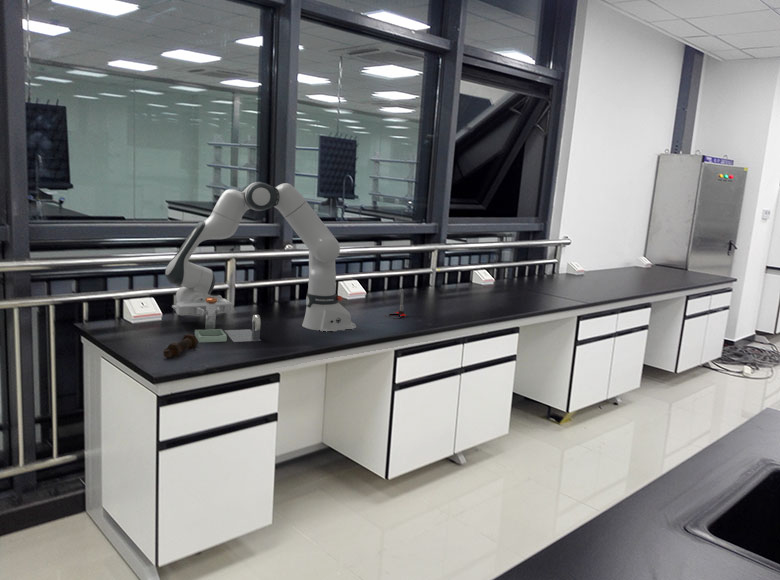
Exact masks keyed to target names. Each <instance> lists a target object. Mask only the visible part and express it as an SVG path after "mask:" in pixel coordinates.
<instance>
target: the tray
mask: <svg viewBox="0 0 780 580" xmlns="http://www.w3.org/2000/svg"><path fill="white" fill-rule="evenodd" d="M194 335H195V336H196V338H197V340H198V344H199V343H217V342H218V343H219V342H227V341H228V340H227V339H228V338H227V337H228V334H227V333H226V332H225V331H224V330H223V329H222V328H215V329H194Z"/></svg>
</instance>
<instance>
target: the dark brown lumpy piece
mask: <svg viewBox="0 0 780 580" xmlns="http://www.w3.org/2000/svg"><path fill="white" fill-rule="evenodd" d="M198 344H199V341H198V340H197V338H196V336H195V334H192V333H186V334H184V335H183V337H182V339H181V340H180V341H179V342H171V343H169V344H168V345H167V347H166V348H165V349H164V350H163V352H162V355H163V356H164V357H165V358H166V359H170V358H172V357H174V356H175V358H177V357H179V356H180V355H181V354H182V352H184V351H185V350H188V349H189V350H194V348H195V349H196V347H197V346H198Z"/></svg>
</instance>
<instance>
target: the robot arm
mask: <svg viewBox="0 0 780 580" xmlns="http://www.w3.org/2000/svg"><path fill="white" fill-rule="evenodd" d="M213 207H214V208H213V209H212V212H211V213H210V215H209V216H208V218H206V219H205V220H203V221H199V222H198V223H197V224H196V225H195V226H194V227H193V228H192V230H191V231H190V233H189V234H188V236H187V237H186V239H185V241H184V242H183V243H182V245H181V246H180V248H179V249H178V251H176V254H175V255H174V257H172V259H171V260H170V261H169V263H168V264H167V266H166V267H165V270H164V271H165V272H164V275H165V277H166V278H165V279H166V280H167V282H169V284H171V285H174V286H175V285H176V286H181V287H180V288H179V289H177V291H176V293H175V299H176V303H175V304H172V305H171V308H173V309H174V310H175V313H176V314H177V315H178V316H193V317H203V316H206V315H207V310H206V298H207V297H214V298H217V302H216V315H220V314H231V313H232V312H233V303H232V302H231V301H230V300H228V299H227V298H223V297H222V295H220V294H212V292H213V290H214V288H215V285H216V277H215V273H214V271H213V270H212V269H211V268H208V267H205V266H202V265H199V264H195V263H193V262H190V261H189V260H190V258H191V256H192V255H193V254H194V252H195V250H196V249H197V247H198V246H199V244H201V243H202V242H204V241H207V240H224V239H228V238H231V237H233V235H235V233H236V232H237V229H239V225H240V223H241V221H242V219H243V216H244V214H245V213H246V212H247V211H249V210H253V211H257V212H260V211H261V212H262V211H266V210H269V209H271V208H275V209H277V211H279V213H280V215H282V217H283V218H284V219H285V221H286V222H287V223H288V224H289V225H290V228H292V229H293V231H294V232H295V234H297V236H298V237H299V238H300V240H301V241H302V243H304V245H305V247H307V248H308V283H307V284H308V285H307V286H308V288H307V292H306V297H305V298H306V299H305V306H306V308H305V315H304V317H303V318H304V319H303V321H302V324H301V326H302V327H303V328H305V329H307V330H312V331H319V330H320V332H323V331H326V332H325V333H328V332H327V331H333V332H338V331H337V330H342V331H346V330H345V329H352V330H354V329H353V328H356V329H357V325H356V324H355V323H354V322H352V317H351V313H350V312H349V311H348V310H347V309H346V308H345V307H344V306H343V305H342V304H340V302H342V301H343V300H344V299H343V296H342V295H337V294H336V280H337V272H336V259H338V257H339V256H340V252H341V245H340V243H339V241H338V240H337V239H336V237H335V235H334V234H333V233H332V231H330V229H329V228H328V227H327V225H325V223H324V222H323V221H322V220H321V219H320V217H319V215H318V214H317V213H316V212H315V210H314V209H313V208H312V206H311V205H310V204H309V203H308V201H307V200H306V198H304V196H303V195H302V193H300V192H299V191H298V190H297V188H295V187H294V186H293V185H292V184H291V183H287V182H285V183H281V184H278V185H277V186H272V185H270V184H268V183H266V182H262V181H255V182H252V183H250V184H249V185H248V186H247V187H245V188H244V189H243V190H241V191H240V190H238V189H234V188H233V189H232V188H230V189H229V188H228V189H225V190H224V191H223V192H222V194H221V195H220V197H219V198H218V200H217V201H216V203H215V206H213Z"/></svg>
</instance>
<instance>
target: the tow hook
mask: <svg viewBox="0 0 780 580" xmlns="http://www.w3.org/2000/svg"><path fill="white" fill-rule="evenodd" d="M395 313H397V314H401V315H400V316H408V315H407V314H406V313H405V311H404V289H403V288H402V289H401V293H400V305H399V310H398V311H396V312H395Z"/></svg>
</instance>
